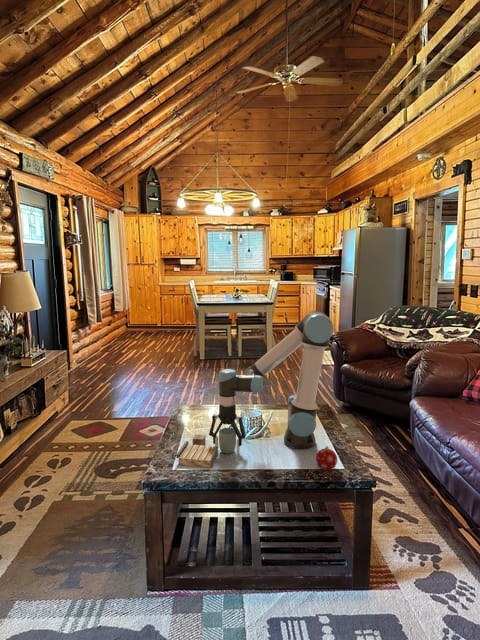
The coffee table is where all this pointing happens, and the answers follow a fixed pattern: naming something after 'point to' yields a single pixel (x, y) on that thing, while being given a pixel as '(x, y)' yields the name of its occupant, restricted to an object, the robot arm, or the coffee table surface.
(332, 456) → the christmas ornament
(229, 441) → the cup
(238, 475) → the coffee table surface
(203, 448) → the pallet dock
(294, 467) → the coffee table surface
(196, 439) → the crate
